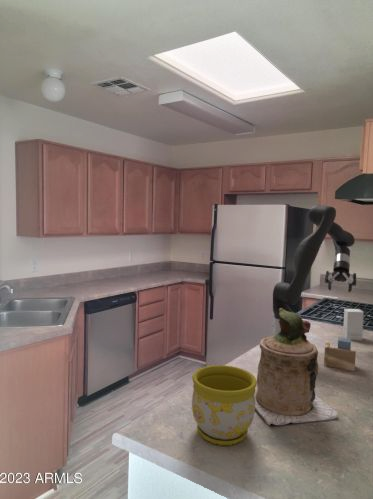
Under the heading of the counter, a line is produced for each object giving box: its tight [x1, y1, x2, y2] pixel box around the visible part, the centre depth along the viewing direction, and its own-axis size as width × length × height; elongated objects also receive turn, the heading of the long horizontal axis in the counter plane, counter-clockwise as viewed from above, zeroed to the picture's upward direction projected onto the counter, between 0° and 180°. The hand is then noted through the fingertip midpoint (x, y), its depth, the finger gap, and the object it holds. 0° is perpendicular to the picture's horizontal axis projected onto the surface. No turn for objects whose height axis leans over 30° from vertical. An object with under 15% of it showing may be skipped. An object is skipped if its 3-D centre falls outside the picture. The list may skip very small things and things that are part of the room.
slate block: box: [337, 337, 352, 350], centre depth 158 cm, size 5×5×11 cm
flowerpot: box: [191, 364, 257, 446], centre depth 104 cm, size 18×18×16 cm
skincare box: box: [342, 308, 365, 341], centre depth 195 cm, size 8×7×16 cm
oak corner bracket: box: [323, 339, 357, 372], centre depth 159 cm, size 11×12×8 cm
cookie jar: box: [254, 308, 339, 426], centre depth 121 cm, size 25×25×32 cm
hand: (339, 290), depth 177 cm, fingers open, 8 cm apart
